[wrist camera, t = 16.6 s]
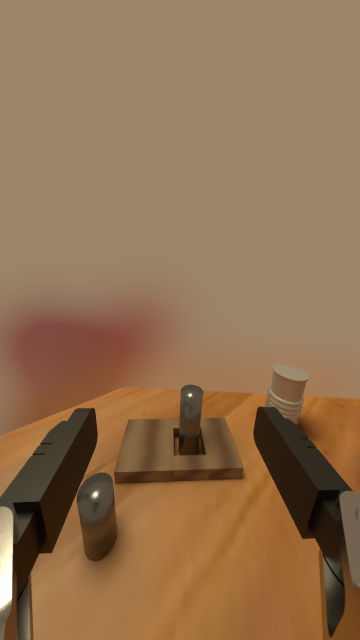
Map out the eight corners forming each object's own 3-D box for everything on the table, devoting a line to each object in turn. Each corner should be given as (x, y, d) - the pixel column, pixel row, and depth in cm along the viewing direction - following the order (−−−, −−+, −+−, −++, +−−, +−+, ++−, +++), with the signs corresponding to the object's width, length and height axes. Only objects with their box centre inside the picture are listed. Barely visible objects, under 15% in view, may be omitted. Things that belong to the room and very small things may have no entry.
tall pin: (178, 461, 35) (181, 398, 31) (177, 442, 39) (180, 384, 35) (199, 460, 35) (204, 398, 31) (196, 441, 39) (200, 384, 35)
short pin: (78, 561, 22) (70, 511, 20) (92, 519, 26) (85, 473, 24) (111, 559, 23) (106, 510, 20) (120, 517, 27) (116, 472, 24)
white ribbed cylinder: (259, 413, 47) (269, 361, 43) (289, 419, 46) (301, 366, 42) (265, 436, 41) (276, 377, 37) (299, 444, 39) (315, 383, 35)
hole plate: (115, 483, 31) (114, 472, 30) (128, 428, 41) (128, 419, 41) (241, 478, 32) (243, 467, 32) (223, 426, 43) (224, 418, 42)
